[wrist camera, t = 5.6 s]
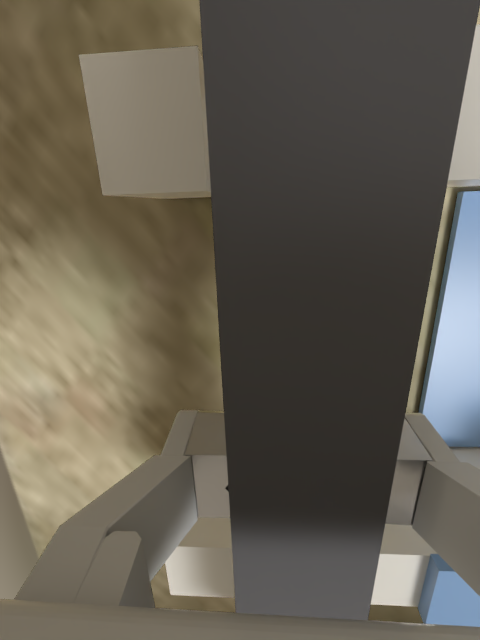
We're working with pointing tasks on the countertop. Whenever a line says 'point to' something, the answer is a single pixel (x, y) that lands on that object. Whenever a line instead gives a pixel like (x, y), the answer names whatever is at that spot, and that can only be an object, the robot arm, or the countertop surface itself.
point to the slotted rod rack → (449, 328)
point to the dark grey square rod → (323, 271)
